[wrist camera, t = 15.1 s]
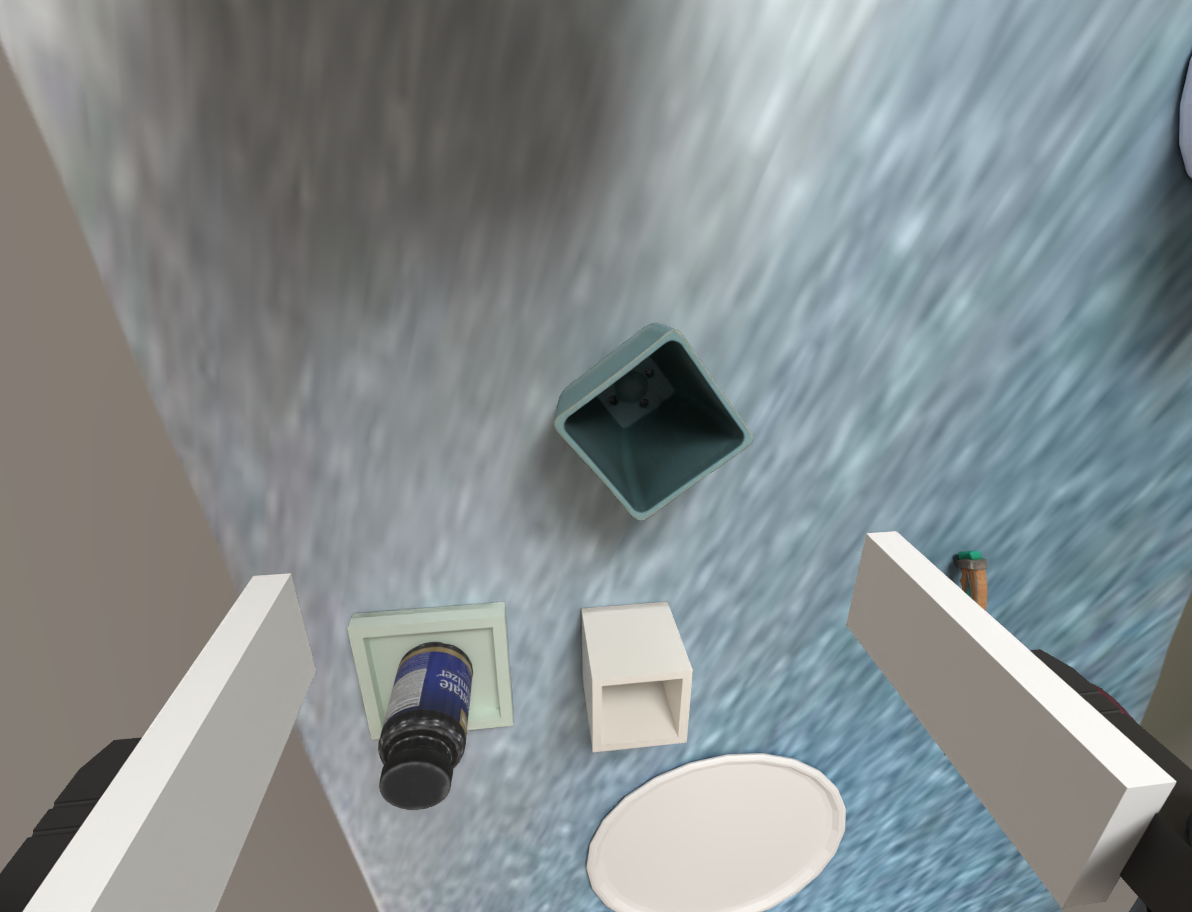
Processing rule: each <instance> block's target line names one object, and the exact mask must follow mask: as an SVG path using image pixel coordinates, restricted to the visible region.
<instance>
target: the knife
mask: <svg viewBox="0 0 1192 912" xmlns="http://www.w3.org/2000/svg"><path fill="white" fill-rule="evenodd" d="M958 556H959V560H957V561H955V562H954V564H955V565H956V567H957V568H960V569H961V571H962V577H961V579H960V582H961V585H962V591H964V592H965V593H966V594H967V595H968V596H969V597H970V598H971V599H972V600H974V601H975V602H976V603H977V604H978V605H979V606H980V607H981V608H983V609H984V610H985V611H986V605H987V578H986V573H985V569H987V565H986V564H987V560H986V559H983V558H982V557H981V552H979V551H966V552H959V553H958ZM944 755H945V754H944Z"/></svg>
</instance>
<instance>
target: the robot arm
mask: <svg viewBox="0 0 1192 912" xmlns="http://www.w3.org/2000/svg"><path fill="white" fill-rule="evenodd" d="M846 625H847V626H848V628H849V629H850V630H851V632H852V633H853V634H854V636H855V637H856V638H857V640H858V641H859V642H860V644H861V645H862V646H863V647H864V649H865V650H866V651H867V653H868V654H869V655H870V657H871V658H872V659H873V661H874V662H875V663H876V665H877V666H878V667H879V668H880V670H881V671H882V672H883V674H884V675H885V676H886V678H887V679H888V680H889V682H890V683H891V684H892V686H893V687H894V688H895V689H896V691H897V692H898V693H899V695H900V696H901V697H902V699H903V700H904V701H905V703H906V704H907V705H908V707H909V708H910V709H911V710H912V712H913V713H914V714H915V716H916V717H917V718H918V720H919V721H920V722H921V724H922V725H923V726H924V728H925V729H926V730H927V731H928V733H929V734H930V735H931V737H932V738H933V739H934V741H935V742H936V743H937V745H938V746H939V747H940V748H941V750H942V751H943V752H944V754H945V755H946V756H947V758H948V759H949V760H950V762H951V763H952V764H953V766H954V767H955V768H956V769H957V771H958V772H959V773H960V775H961V776H962V777H963V779H964V780H965V781H966V783H967V784H968V785H969V787H970V788H971V789H972V790H973V792H974V793H975V794H976V796H977V797H978V798H979V800H980V801H981V802H982V804H983V805H984V806H985V808H986V809H987V810H988V811H989V813H990V814H991V815H992V817H993V818H994V819H995V821H996V822H997V823H998V825H999V826H1000V827H1001V829H1002V830H1003V831H1004V832H1005V834H1006V835H1007V836H1008V838H1009V839H1010V840H1011V842H1012V843H1013V844H1014V846H1015V847H1016V848H1017V850H1018V851H1019V852H1020V853H1021V855H1022V856H1023V857H1024V859H1025V860H1026V861H1027V863H1028V864H1029V865H1030V867H1031V868H1032V869H1033V870H1034V872H1035V873H1036V874H1037V876H1038V877H1039V878H1040V880H1041V881H1042V882H1043V884H1044V885H1045V886H1046V888H1047V889H1048V890H1049V891H1050V893H1051V894H1052V895H1053V897H1054V898H1055V899H1056V901H1057V902H1058V903H1059V905H1060V906H1061V907H1062V908H1066V907H1072V906H1078V905H1085V904H1092V903H1099V902H1105V901H1106V900H1107V899H1108V897H1109V895H1110V894H1111V892H1112V890H1113V889H1114V887H1115V885H1116V884H1117V882H1118V880H1119V879H1120V877H1122V878H1123V880H1124V881H1125V882H1126V883H1127V884H1128V885H1129V886H1130V888H1131V889H1132V890H1133V891H1134V892H1135V893H1136V894H1137V896H1138V898H1137V900H1136V902H1135V903H1134V905H1133V906H1132V908H1131V910H1130V911H1129V912H1192V770H1191V769H1190V768H1189V767H1188V766H1187V765H1185V764H1184V763H1183V762H1182V761H1181V760H1180V759H1178V758H1177V757H1176V756H1175V755H1174V754H1172V753H1171V752H1170V751H1169V750H1168V749H1167V748H1165V747H1164V746H1163V745H1162V744H1161V743H1160V742H1158V741H1157V740H1156V739H1155V738H1154V737H1153V736H1152V735H1150V734H1149V733H1148V732H1147V731H1146V730H1145V729H1143V728H1142V727H1141V726H1140V725H1139V724H1137V723H1136V722H1135V721H1134V720H1133V719H1132V718H1130V717H1129V716H1128V715H1127V714H1126V713H1125V714H1122V713H1121V712H1120V708H1119V707H1118V706H1116V705H1115V704H1114V703H1113V702H1112V701H1111V700H1109V699H1108V698H1107V697H1106V696H1105V695H1100V694H1099V692H1098V689H1097V688H1095V687H1094V686H1093V685H1092V684H1091V683H1090V682H1088V681H1087V680H1086V679H1085V678H1084V677H1083V676H1081V675H1080V674H1079V673H1078V672H1077V671H1076V670H1074V669H1073V668H1072V667H1070V666H1068V665H1067V664H1065V663H1063V662H1061V661H1060V660H1058V659H1056V658H1054V657H1053V656H1051V655H1049V654H1047V653H1046V652H1044V651H1042V650H1040V649H1039V650H1028V649H1027V648H1026V647H1025V646H1024V645H1023V644H1022V643H1021V642H1020V641H1018V640H1017V639H1016V638H1015V637H1014V636H1013V635H1012V634H1011V633H1009V632H1008V631H1007V630H1006V629H1005V628H1004V627H1003V626H1002V625H1000V624H999V623H998V622H997V621H996V620H995V619H994V618H993V617H992V616H990V615H989V614H988V613H987V612H986V611H985V610H984V609H983V608H981V607H980V606H979V605H978V604H977V603H976V602H975V601H974V600H972V599H971V598H970V597H969V596H968V595H967V594H966V593H965V592H964V591H962V590H961V589H960V588H959V587H958V586H957V585H956V584H955V583H953V582H952V581H951V580H950V579H949V578H948V577H947V576H946V575H944V574H943V573H942V572H941V571H940V570H939V569H938V568H937V567H935V566H934V565H933V564H932V563H931V562H930V561H929V560H928V559H927V558H925V557H924V556H923V555H922V554H921V553H920V552H919V551H918V550H916V549H915V548H914V547H913V546H912V545H911V544H910V543H909V542H907V541H906V540H905V539H904V538H903V537H902V536H901V535H900V534H899V533H897V532H896V531H895V532H881V533H867V534H866V537H865V542H864V546H863V551H862V556H861V560H860V565H859V569H858V574H857V578H856V583H855V587H854V592H853V597H852V601H851V606H850V610H849V615H848V619H847V624H846ZM315 673H316V668H315V664H314V661H313V657H312V653H311V649H310V645H309V641H308V637H307V633H306V629H305V626H304V622H303V618H302V614H301V610H300V606H299V602H298V598H297V594H296V591H295V587H294V583H293V579H292V575H291V573H289V574H275V575H260V576H253V577H252V579H251V580H250V582H249V583H248V584H247V586H246V587H245V589H244V590H243V592H242V593H241V595H240V596H239V598H238V599H237V600H236V602H235V603H234V605H233V606H232V608H231V609H230V611H229V612H228V614H227V615H226V617H225V618H224V620H223V621H222V622H221V624H220V625H219V627H218V628H217V630H216V631H215V633H214V634H213V635H212V637H211V639H210V640H209V641H208V643H207V644H206V646H205V647H204V649H203V650H202V651H201V653H200V654H199V656H198V657H197V659H196V660H195V662H194V663H193V665H192V666H191V668H190V669H189V670H188V672H187V673H186V675H185V676H184V678H183V679H182V680H181V682H180V683H179V685H178V686H177V688H176V689H175V691H174V692H173V694H172V695H171V697H170V698H169V699H168V701H167V702H166V704H165V705H164V707H163V708H162V710H161V711H160V713H159V714H158V716H157V717H156V718H155V720H154V721H153V723H152V724H151V726H150V727H149V728H148V730H147V731H146V733H145V734H144V736H143V737H142V738H132V739H122V740H114V741H113V742H111V743H110V744H109V745H108V746H107V747H106V748H104V749H103V750H102V751H101V752H100V753H98V754H97V755H96V756H95V757H93V758H92V759H91V760H90V761H89V762H88V763H86V764H85V765H84V766H83V767H82V768H80V769H79V770H78V772H77V773H76V774H75V776H74V777H73V778H72V780H71V781H70V782H69V784H68V785H67V786H66V788H65V789H64V790H63V792H62V793H61V794H60V795H59V797H58V798H57V799H56V801H55V802H54V807H53V809H49V810H48V811H47V813H46V814H45V815H44V817H43V818H42V819H41V821H40V822H39V823H38V824H37V826H36V827H35V828H34V830H33V835H32V837H29V838H27V839H26V840H25V842H24V843H23V844H22V846H21V847H20V848H19V849H18V851H17V852H16V853H15V855H14V856H13V857H12V859H11V860H10V861H9V863H8V864H7V865H6V867H5V868H4V869H3V871H2V872H1V873H0V912H215V911H216V909H217V906H218V904H219V902H220V899H221V897H222V895H223V892H224V890H225V888H226V885H227V883H228V880H229V878H230V875H231V873H232V871H233V868H234V866H235V864H236V861H237V859H238V857H239V854H240V852H241V849H242V847H243V844H244V842H245V840H246V837H247V835H248V833H249V830H250V828H251V825H252V823H253V821H254V818H255V816H256V814H257V811H258V809H259V806H260V804H261V802H262V799H263V797H264V794H265V792H266V790H267V787H268V785H269V782H270V780H271V778H272V775H273V773H274V771H275V768H276V766H277V764H278V761H279V759H280V756H281V754H282V751H283V749H284V747H285V744H286V742H287V740H288V737H289V735H290V732H291V730H292V728H293V725H294V723H295V721H296V718H297V716H298V713H299V711H300V709H301V706H302V704H303V702H304V699H305V697H306V694H307V692H308V690H309V687H310V685H311V682H312V680H313V678H314V675H315Z"/></svg>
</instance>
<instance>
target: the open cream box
mask: <svg viewBox="0 0 1192 912" xmlns="http://www.w3.org/2000/svg"><path fill="white" fill-rule="evenodd" d="M581 619H582V677H583V684H584V692H585V699H586V706H587V714H588V721H589V728H590V736H591V743H592V750H593V752H602V751H611V750H620V749H629V748H639V747H648V746H657V745H666V744H676V743H685V742H687V730H688V719H689V707H690V696H691V684H692V673H693V670H692V667H691V664H690V662H689V659H688V656H687V654H686V651H685V648H684V645H683V643H682V640H681V637H680V635H679V632H678V629H677V626H676V624H675V621H674V618H673V616H672V613H671V610H670V607H669V605H668V602H656V603H643V604H631V605H618V606H606V607H593V608H581Z"/></svg>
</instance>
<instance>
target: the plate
mask: <svg viewBox="0 0 1192 912" xmlns="http://www.w3.org/2000/svg"><path fill="white" fill-rule="evenodd" d="M845 815H846V808H845V806H844V803H843V801H842V798H841V796H840V793H839V791H838V788H837V787H836V786H835V785H834V784H833V783H832V782H831V781H830V780H829V779H828V778H827V777H826V776H825V775H824V774H823V773H822V772H821V771H820V770H817V769H815V768H813V767H811V766H809V765H807V764H805V763H802V762H800V761H798V760H796V759H793V758H787V757H782V756H776V755H770V754H765V753H752V754H726V755H722V756H717V757H713V758H708V759H704V760H699V761H695V762H690V763H688V764H685V765H683V766H680V767H678V768H676V769H673V770H671V771H668V772H666V773H664V774H661V775H659V776H657V777H654V778H653V779H651V780H650V781H648V782H647V783H645V784H644V785H642V786H641V787H639V788H638V789H636V790H635V791H633V792H632V793H630V794H629V795H627V796H626V797H624V798H623V799H622V800H621V801H620V802H619V804H618V805H617V806H616V807H615V808H614V809H613V810H612V811H611V812H610V813H609V814H608V815H607V816H606V817H605V818H604V819H603V820H602V822H601V824H600V826H599V828H598V830H597V831H596V833H595V835H594V837H593V839H592V841H591V842H590V846H589V853H588V860H587V872H588V875H589V879H590V882H591V886H592V889H593V890H594V892H595V893H596V894H597V895H598V896H599V898H600V899H601V900H602V901H603V903H604V904H605V905H606V906H607V907H609V908H610V909H612V910H614V911H615V912H762V911H765V910H767V909H770V908H772V907H774V906H775V905H777V904H779V903H781V902H782V901H784V900H786V899H787V898H789V897H791V896H792V895H794V894H796V893H798V892H799V891H800V890H801V889H802V888H804V887H805V886H806V885H807V884H808V883H809V882H811V881H812V880H813V879H814V878H815V877H817V876H818V875H819V874H820V873H821V871H822V870H823V869H824V867H825V866H826V865H827V864H828V862H829V861H830V860H831V858H832V857H833V856H834V855H835V853H836V851H837V849H838V846H839V844H840V841H841V839H842V836H843V834H844V831H845Z"/></svg>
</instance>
